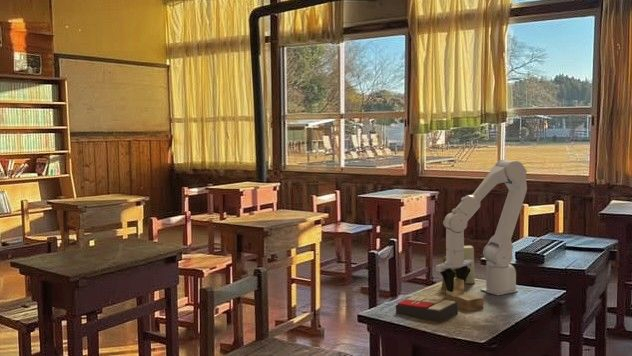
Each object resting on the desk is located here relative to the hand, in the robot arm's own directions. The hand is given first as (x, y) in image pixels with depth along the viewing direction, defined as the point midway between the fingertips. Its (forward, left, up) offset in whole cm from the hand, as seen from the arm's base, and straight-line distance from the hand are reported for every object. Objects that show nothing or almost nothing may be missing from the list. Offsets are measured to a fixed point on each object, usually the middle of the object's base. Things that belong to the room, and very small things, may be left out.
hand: (455, 290), depth 200 cm
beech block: (0, 0, -1) cm, 1 cm away
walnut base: (+6, +13, -2) cm, 14 cm away
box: (-14, -10, -2) cm, 17 cm away
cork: (-5, -8, -2) cm, 10 cm away
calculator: (+21, +11, -2) cm, 24 cm away
